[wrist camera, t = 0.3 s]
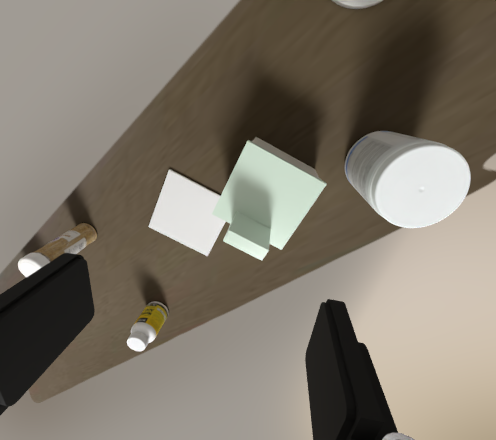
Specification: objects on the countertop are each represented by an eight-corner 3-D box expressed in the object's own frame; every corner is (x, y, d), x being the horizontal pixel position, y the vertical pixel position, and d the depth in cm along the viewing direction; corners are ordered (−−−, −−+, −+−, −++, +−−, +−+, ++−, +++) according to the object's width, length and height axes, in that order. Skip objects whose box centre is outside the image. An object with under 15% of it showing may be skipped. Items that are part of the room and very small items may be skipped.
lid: (249, 138, 34) (240, 148, 27) (324, 180, 35) (334, 199, 28) (215, 208, 39) (199, 232, 32) (281, 243, 40) (280, 273, 33)
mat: (170, 169, 45) (169, 169, 45) (235, 203, 46) (234, 203, 46) (149, 225, 51) (148, 226, 50) (208, 255, 52) (207, 256, 51)
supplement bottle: (159, 297, 58) (136, 331, 50) (173, 313, 60) (154, 349, 51) (142, 305, 60) (118, 339, 51) (157, 320, 62) (135, 356, 53)
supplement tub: (353, 198, 43) (384, 241, 30) (335, 146, 40) (360, 168, 27) (415, 176, 40) (479, 212, 27) (401, 117, 37) (466, 126, 24)
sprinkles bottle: (84, 218, 52) (23, 253, 40) (102, 233, 53) (47, 272, 41) (73, 230, 54) (11, 268, 41) (91, 245, 55) (35, 286, 42)
